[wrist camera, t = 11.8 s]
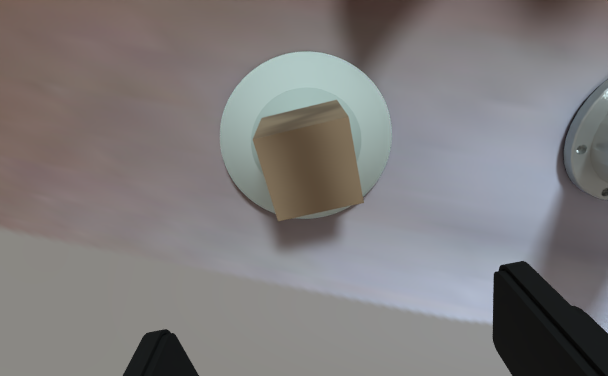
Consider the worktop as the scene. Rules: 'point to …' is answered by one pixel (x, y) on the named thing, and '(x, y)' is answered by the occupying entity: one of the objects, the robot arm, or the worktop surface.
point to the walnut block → (308, 160)
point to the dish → (294, 95)
